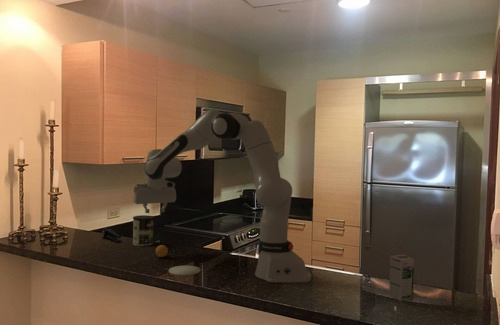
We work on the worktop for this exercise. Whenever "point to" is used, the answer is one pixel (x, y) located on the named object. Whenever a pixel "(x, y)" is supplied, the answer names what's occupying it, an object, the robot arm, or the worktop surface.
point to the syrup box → (401, 277)
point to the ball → (161, 251)
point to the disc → (184, 270)
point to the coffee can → (142, 230)
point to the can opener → (110, 235)
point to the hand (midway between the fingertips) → (155, 212)
